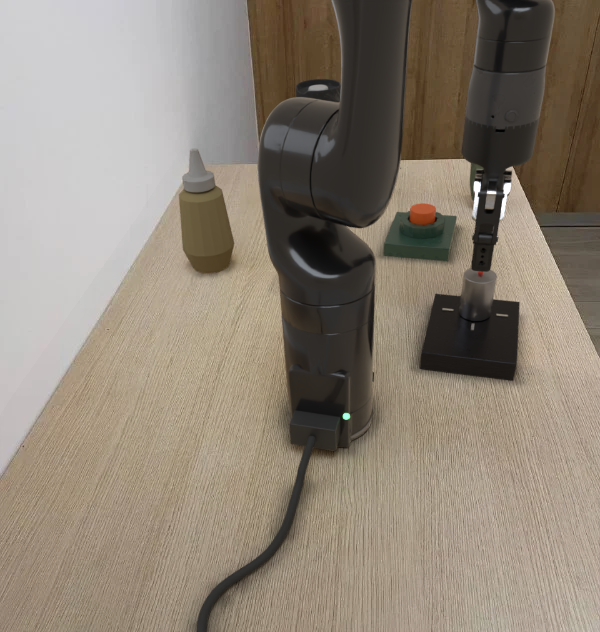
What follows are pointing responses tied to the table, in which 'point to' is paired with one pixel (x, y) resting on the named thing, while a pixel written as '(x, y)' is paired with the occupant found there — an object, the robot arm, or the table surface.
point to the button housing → (420, 238)
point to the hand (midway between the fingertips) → (482, 252)
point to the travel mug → (319, 89)
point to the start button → (422, 214)
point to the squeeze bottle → (204, 219)
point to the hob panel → (471, 340)
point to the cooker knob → (477, 294)
